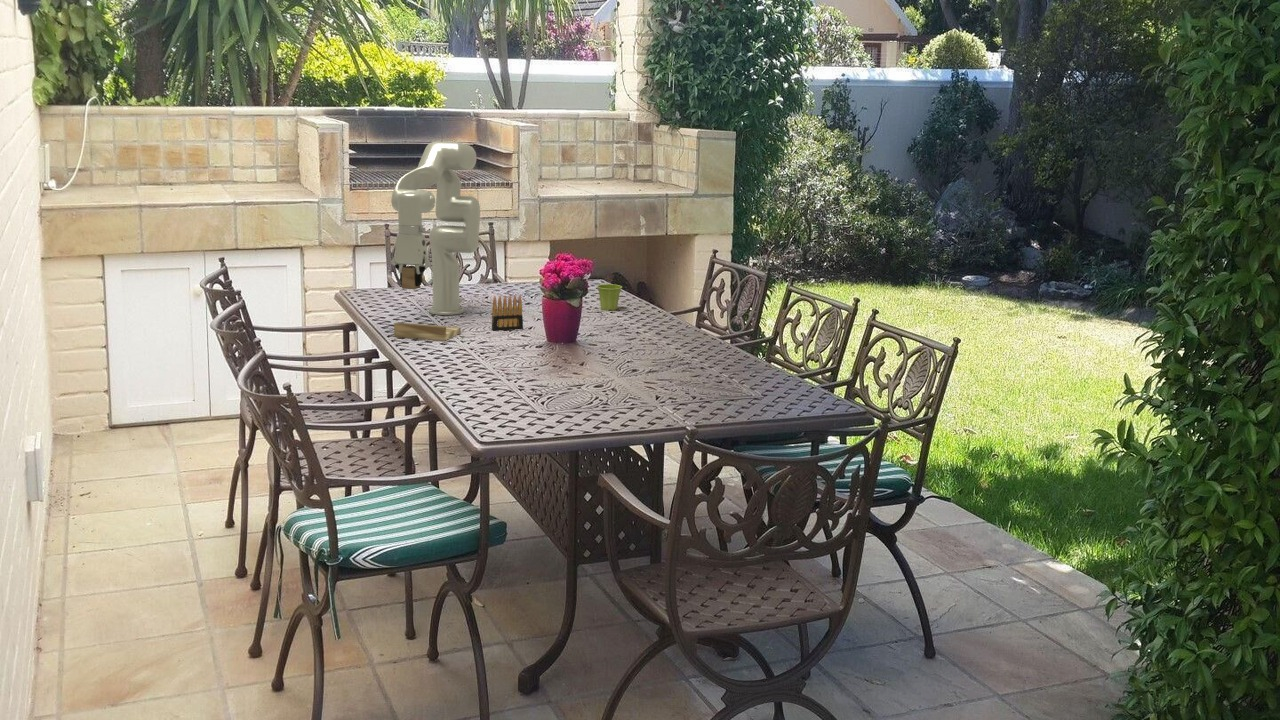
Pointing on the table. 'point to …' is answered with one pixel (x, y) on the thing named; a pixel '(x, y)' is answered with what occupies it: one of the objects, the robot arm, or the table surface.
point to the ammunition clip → (513, 319)
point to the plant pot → (609, 296)
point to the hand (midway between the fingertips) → (411, 284)
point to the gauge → (409, 277)
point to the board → (425, 331)
